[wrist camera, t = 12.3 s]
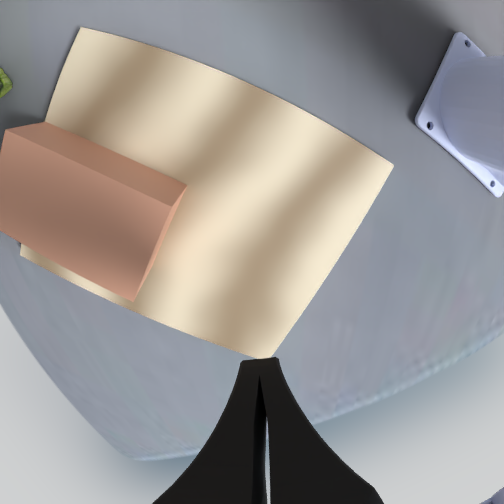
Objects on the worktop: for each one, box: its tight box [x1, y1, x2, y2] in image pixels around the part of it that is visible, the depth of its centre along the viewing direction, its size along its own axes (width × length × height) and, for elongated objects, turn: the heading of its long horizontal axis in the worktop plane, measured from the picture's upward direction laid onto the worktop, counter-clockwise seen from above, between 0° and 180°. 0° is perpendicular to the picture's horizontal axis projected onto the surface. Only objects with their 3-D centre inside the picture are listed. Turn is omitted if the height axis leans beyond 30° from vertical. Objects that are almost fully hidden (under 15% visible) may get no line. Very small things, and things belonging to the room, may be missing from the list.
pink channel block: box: [0, 122, 188, 302], centre depth 15 cm, size 10×6×4 cm, turn 62°
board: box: [20, 27, 394, 359], centre depth 17 cm, size 20×16×3 cm
